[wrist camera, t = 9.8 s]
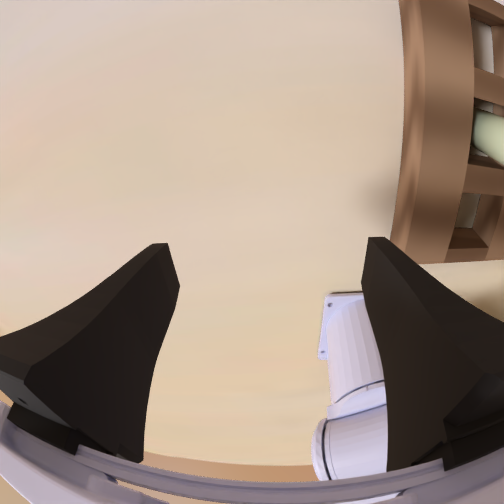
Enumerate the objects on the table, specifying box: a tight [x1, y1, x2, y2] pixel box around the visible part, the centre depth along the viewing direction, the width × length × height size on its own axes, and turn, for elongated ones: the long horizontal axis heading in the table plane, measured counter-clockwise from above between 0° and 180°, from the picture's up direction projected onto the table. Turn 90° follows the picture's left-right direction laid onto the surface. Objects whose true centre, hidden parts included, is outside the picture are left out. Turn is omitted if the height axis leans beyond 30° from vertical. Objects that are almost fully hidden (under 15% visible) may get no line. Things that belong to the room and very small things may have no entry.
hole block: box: [390, 0, 504, 264], centre depth 14 cm, size 20×12×3 cm, turn 5°
